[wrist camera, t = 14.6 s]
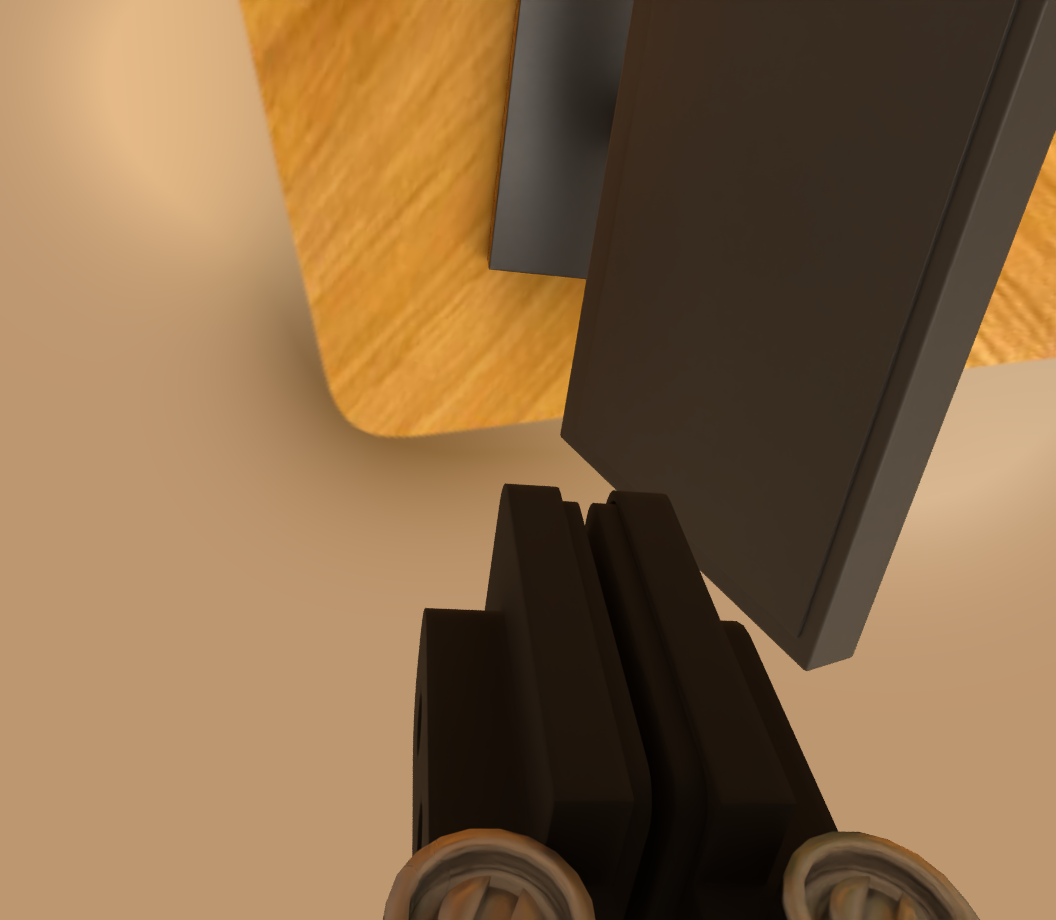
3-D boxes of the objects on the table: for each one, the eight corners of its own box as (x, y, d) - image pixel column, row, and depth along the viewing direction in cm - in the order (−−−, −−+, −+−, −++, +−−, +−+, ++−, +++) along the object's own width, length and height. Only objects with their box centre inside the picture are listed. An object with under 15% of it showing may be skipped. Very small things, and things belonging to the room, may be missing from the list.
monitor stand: (487, 259, 39) (506, 387, 29) (525, -79, 33) (567, -69, 23) (725, 284, 40) (824, 413, 30) (803, -37, 34) (958, -10, 24)
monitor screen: (556, 436, 32) (801, 674, 23) (658, -174, 24) (1103, -171, 15) (599, 430, 33) (853, 658, 24) (712, -162, 24) (1166, -152, 15)
